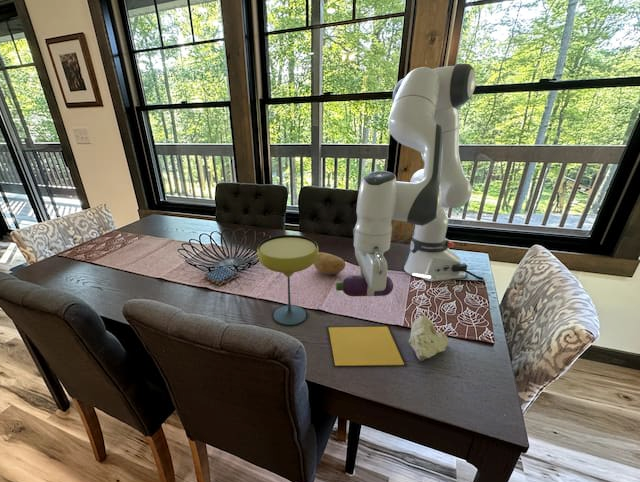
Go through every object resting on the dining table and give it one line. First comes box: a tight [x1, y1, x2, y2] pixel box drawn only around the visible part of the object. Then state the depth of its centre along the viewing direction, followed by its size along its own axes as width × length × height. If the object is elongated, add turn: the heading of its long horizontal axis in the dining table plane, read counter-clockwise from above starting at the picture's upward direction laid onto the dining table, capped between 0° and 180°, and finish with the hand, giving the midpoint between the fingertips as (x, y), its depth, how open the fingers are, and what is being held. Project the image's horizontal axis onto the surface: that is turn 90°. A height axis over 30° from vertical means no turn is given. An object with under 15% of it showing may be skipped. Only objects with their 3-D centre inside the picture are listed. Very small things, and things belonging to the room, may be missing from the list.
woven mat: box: [204, 266, 240, 286], centre depth 128 cm, size 10×11×2 cm
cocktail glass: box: [256, 234, 319, 326], centre depth 97 cm, size 18×18×25 cm
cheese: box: [408, 314, 450, 362], centre depth 84 cm, size 15×7×15 cm
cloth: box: [328, 326, 405, 367], centre depth 89 cm, size 18×16×1 cm
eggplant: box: [335, 274, 394, 297], centre depth 84 cm, size 15×6×6 cm, turn 88°
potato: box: [313, 251, 347, 275], centre depth 126 cm, size 10×14×8 cm
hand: (366, 287), depth 84 cm, fingers closed on eggplant, 5 cm apart
